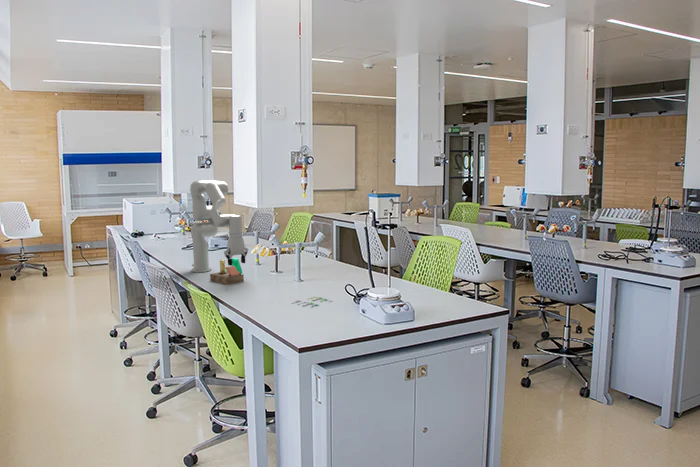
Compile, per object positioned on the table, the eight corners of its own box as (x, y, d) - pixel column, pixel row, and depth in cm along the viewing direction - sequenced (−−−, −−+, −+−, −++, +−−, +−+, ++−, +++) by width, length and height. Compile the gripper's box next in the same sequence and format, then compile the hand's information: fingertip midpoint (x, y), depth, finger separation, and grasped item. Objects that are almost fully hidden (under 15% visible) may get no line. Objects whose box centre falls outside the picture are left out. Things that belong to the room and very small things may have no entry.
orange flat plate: (225, 268, 338) (225, 267, 337) (233, 267, 342) (233, 265, 342) (231, 276, 334) (231, 275, 334) (239, 274, 339) (240, 273, 338)
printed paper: (312, 293, 311) (312, 290, 311) (355, 302, 292) (355, 300, 292) (272, 303, 288) (272, 301, 288) (315, 315, 269) (315, 312, 269)
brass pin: (219, 279, 345) (218, 260, 344) (223, 279, 348) (222, 259, 346) (222, 280, 343) (221, 261, 342) (226, 279, 346) (225, 260, 344)
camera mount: (222, 273, 364) (222, 258, 363) (233, 272, 369) (232, 256, 368) (231, 276, 355) (230, 260, 354) (242, 275, 360) (241, 259, 359)
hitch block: (210, 280, 344) (210, 271, 343) (226, 277, 353) (226, 268, 352) (227, 284, 333) (226, 275, 332) (243, 281, 342) (243, 272, 341)
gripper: (243, 234, 349) (244, 261, 351) (219, 236, 336) (221, 265, 338) (251, 235, 344) (252, 262, 346) (227, 238, 331) (228, 266, 333)
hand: (236, 264), depth 342 cm, fingers open, 9 cm apart
